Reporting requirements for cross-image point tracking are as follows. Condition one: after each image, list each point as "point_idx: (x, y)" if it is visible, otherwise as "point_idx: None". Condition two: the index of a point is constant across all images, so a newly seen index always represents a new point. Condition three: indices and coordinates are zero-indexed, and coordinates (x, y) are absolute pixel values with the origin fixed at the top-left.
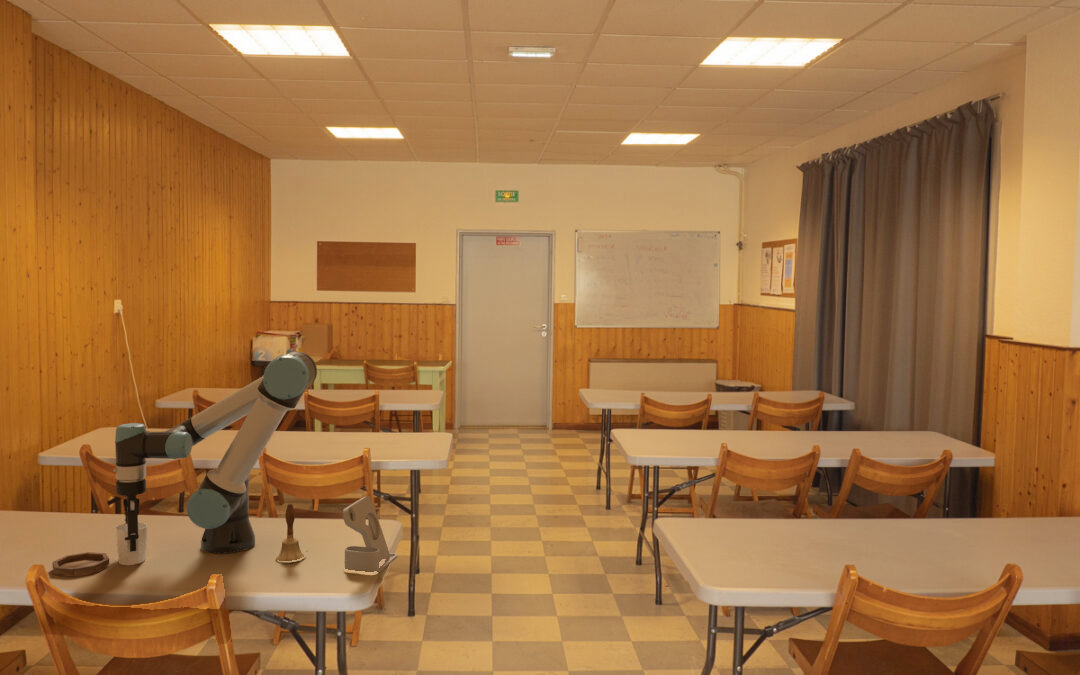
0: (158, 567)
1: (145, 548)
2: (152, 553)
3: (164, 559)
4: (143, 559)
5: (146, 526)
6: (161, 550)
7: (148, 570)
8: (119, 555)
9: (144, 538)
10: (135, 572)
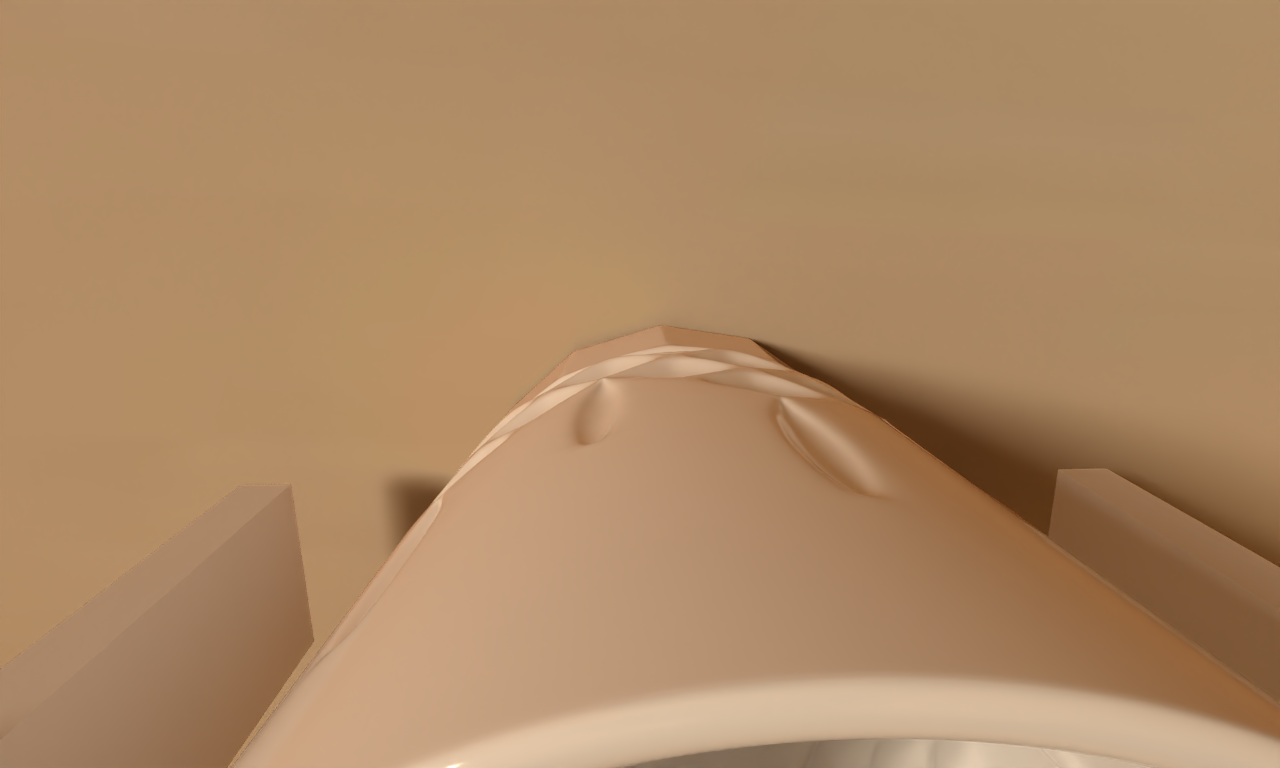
0: (1185, 142)
1: (800, 375)
2: (368, 196)
3: (805, 10)
4: (785, 364)
5: (1242, 730)
6: (233, 27)
7: (1236, 300)
8: (752, 756)
9: (1002, 504)
10: (1210, 474)
